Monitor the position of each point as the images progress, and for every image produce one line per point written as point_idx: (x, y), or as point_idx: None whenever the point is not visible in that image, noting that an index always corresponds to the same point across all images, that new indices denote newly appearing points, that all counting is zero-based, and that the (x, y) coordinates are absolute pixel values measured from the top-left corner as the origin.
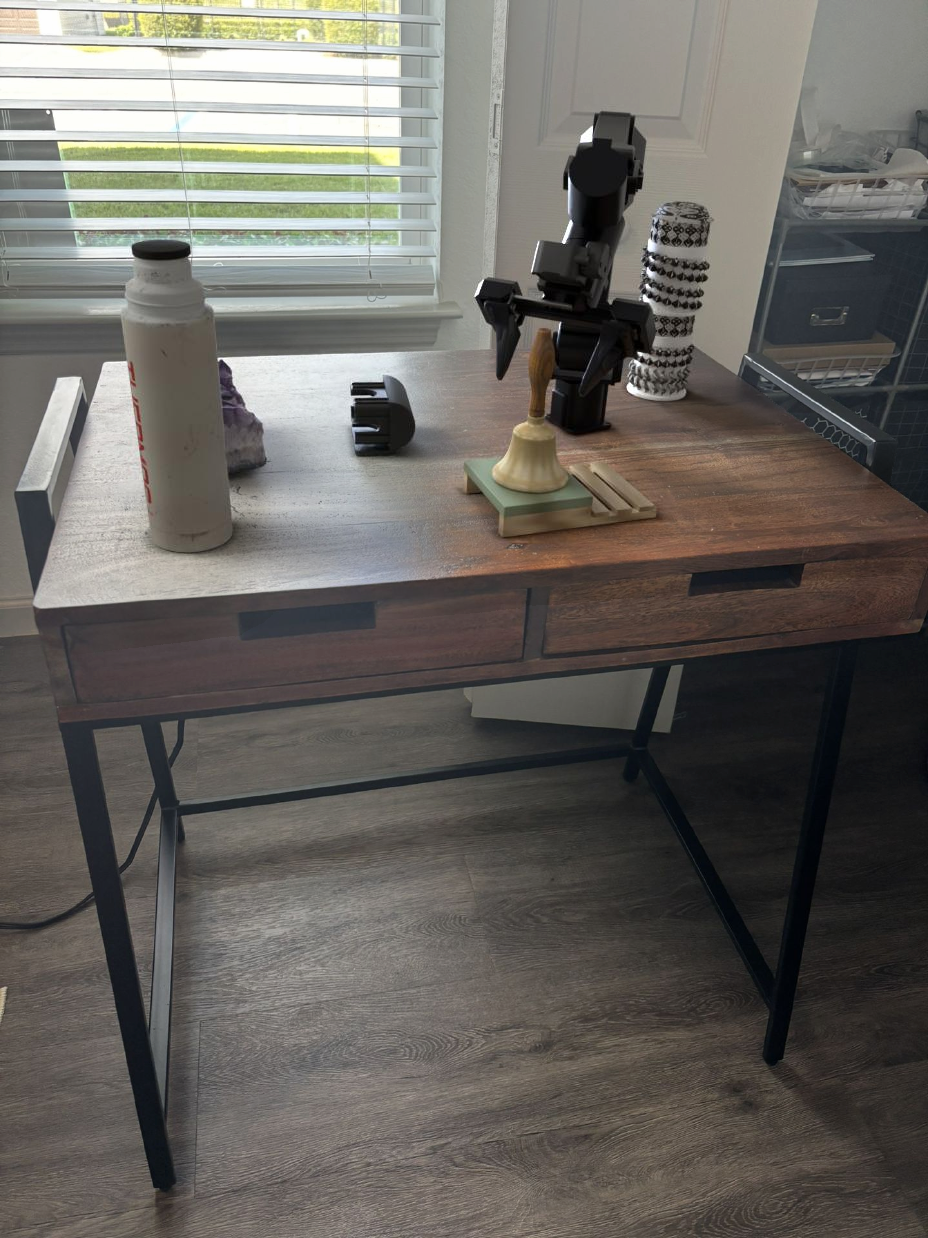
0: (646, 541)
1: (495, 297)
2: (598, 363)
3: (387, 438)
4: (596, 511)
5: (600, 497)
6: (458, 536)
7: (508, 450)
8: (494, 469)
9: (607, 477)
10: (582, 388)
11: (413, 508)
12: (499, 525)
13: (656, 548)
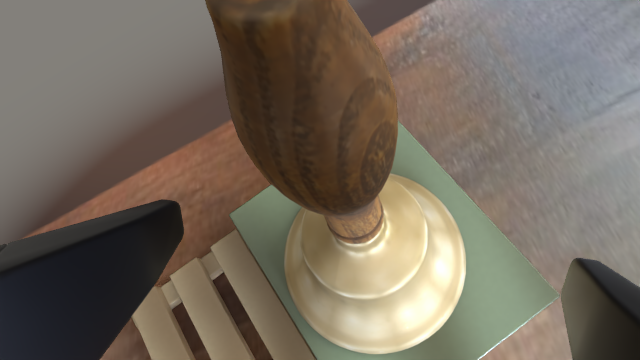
0: None
1: None
2: (19, 242)
3: None
4: (233, 234)
5: (231, 317)
6: (456, 112)
7: (428, 223)
8: (454, 227)
9: None
10: (159, 202)
11: (587, 177)
12: None
13: (145, 195)
